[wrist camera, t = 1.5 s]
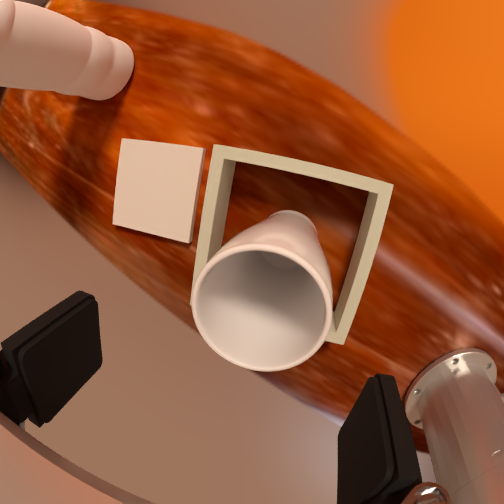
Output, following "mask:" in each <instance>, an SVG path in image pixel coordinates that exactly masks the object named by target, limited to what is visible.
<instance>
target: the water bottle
mask: <svg viewBox="0 0 504 504" xmlns="http://www.w3.org/2000/svg"><path fill="white" fill-rule="evenodd" d="M133 67H134V56H133V52H132V50H131V48H130V47H129V46H128V45H127V44H126V43H124V42H122V41H120V40H118V39H116V38H113V37H110V36H106V35H105V34H104V33H102V32H101V31H99V30H96V29H94V28H91V27H87V26H83V25H81V24H79V23H78V22H76V21H74V20H72V19H70V18H68V17H66V16H63V15H61V14H59V13H56V12H54V11H51V10H48V9H45V8H42V7H39V6H36V5H33V4H29V3H25V2H20V1H13V0H0V86H3V87H11V88H20V89H31V90H47V91H55V92H58V93H61V94H66V95H79V96H82V97H85V98H88V99H93V100H106V99H109V98H111V97H113V96H115V95H116V94H117V93H119V92H120V91H121V90H122V89H123V88H124V86H125V85H126V84H127V82H128V80H129V79H130V76H131V74H132V71H133Z"/></svg>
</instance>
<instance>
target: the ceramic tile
mask: <svg viewBox="0 0 504 504" xmlns="http://www.w3.org/2000/svg"><path fill="white" fill-rule="evenodd" d="M205 154H206V148H199V147H192V146H185V145H178V144H170V143H162V142H154V141H145V140H135V139H123V138H122V142H121V148H120V156H119V163H118V172H117V180H116V190H115V201H114V214H113V224H115V225H119V226H122V227H126V228H130V229H134V230H138V231H142V232H146V233H150V234H154V235H158V236H161V237H165V238H169V239H173V240H177V241H181V242H185V243H190V242H192V236H193V229H194V222H195V215H196V209H197V202H198V195H199V189H200V183H201V177H202V171H203V165H204V159H205Z"/></svg>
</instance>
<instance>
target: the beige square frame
mask: <svg viewBox="0 0 504 504" xmlns="http://www.w3.org/2000/svg"><path fill="white" fill-rule="evenodd" d="M236 161H240V162H245V163H250V164H255V165H260V166H265V167H270V168H275V169H280V170H284V171H289V172H294V173H298V174H302V175H307V176H311V177H315V178H319V179H324V180H328V181H332V182H336V183H340V184H344V185H347V186H351V187H355V188H359V189H362V190H366V191H369V194H368V198H367V202H366V206H365V210H364V214H363V218H362V222H361V226H360V229H359V233H358V237H357V240H356V244H355V247H354V251H353V254H352V258H351V261H350V265H349V268H348V271H347V275H346V278H345V281H344V284H343V287H342V291H341V294H340V297H339V300H338V303H337V306H336V309H335V312H332V322H331V327H330V330H329V333H328V335H327V337H326V339H325V341H329V342H333V343H338V344H342V345H343V344H344V342H345V339H346V337H347V334H348V331H349V329H350V326H351V324H352V321H353V318H354V315H355V313H356V310H357V307H358V304H359V301H360V299H361V296H362V293H363V290H364V287H365V284H366V281H367V278H368V275H369V272H370V269H371V265H372V262H373V259H374V256H375V252H376V249H377V246H378V242H379V239H380V235H381V232H382V228H383V224H384V221H385V217H386V213H387V209H388V205H389V201H390V197H391V193H392V189H393V184H389V183H386V182H383V181H379V180H376V179H372V178H369V177H365V176H361V175H358V174H354V173H350V172H346V171H343V170H339V169H335V168H331V167H327V166H322V165H318V164H314V163H310V162H305V161H301V160H296V159H292V158H287V157H282V156H277V155H272V154H267V153H262V152H257V151H251V150H246V149H240V148H234V147H229V146H222V145H216V144H214V147H213V152H212V158H211V163H210V169H209V175H208V181H207V187H206V193H205V199H204V205H203V212H202V218H201V225H200V232H199V239H198V246H197V253H196V261H195V268H194V276H193V284H192V292H193V287H194V284H195V281H196V279H197V277H198V275H199V273H200V272H201V270H202V269H203V268H204V266H205V265H206V264H207V263H208V262H209V261H210V259H211V258H212V257H213V256H214V255H215V254H216V253H217V252H218V251H219V250H220V249H221V245H222V239H223V233H224V227H225V221H226V215H227V210H228V204H229V198H230V193H231V187H232V182H233V176H234V171H235V165H236ZM192 292H191V301H190V305H192Z"/></svg>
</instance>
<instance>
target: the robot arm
mask: <svg viewBox="0 0 504 504" xmlns="http://www.w3.org/2000/svg"><path fill="white" fill-rule="evenodd" d="M1 346H2V350H1V351H0V504H155V503H152V502H150V501H148V500H145V499H143V498H140V497H138V496H136V495H133V494H131V493H129V492H127V491H124V490H123V489H120V488H118V487H116V486H114V485H112V484H110V483H108V482H106V481H104V480H102V479H100V478H98V477H97V476H95V475H93V474H91V473H89V472H87V471H86V470H84V469H82V468H80V467H79V466H77V465H75V464H74V463H72V462H70V461H69V460H67V459H65V458H64V457H62V456H60V455H59V454H58V453H56V452H54V451H53V450H51V449H50V448H48V447H47V446H45V445H44V444H43V443H41V442H40V441H38V440H37V439H35V438H34V437H32V436H31V435H30V434H29V433H27V432H26V431H25V422H24V421H25V420H26V419H27V418H28V419H29V420H30V421H31V422H32V423H34V424H35V425H37V426H38V427H41V426H42V425H43V424H44V423H48V422H50V421H51V420H52V419H53V417H54V416H55V415H56V414H57V413H58V412H59V411H60V410H61V409H62V408H63V407H64V405H65V404H66V403H67V402H68V401H69V400H70V399H71V398H72V397H73V396H74V395H75V394H76V393H77V391H79V389H80V388H81V387H82V386H83V385H84V384H85V383H86V382H87V381H88V380H89V379H90V378H91V377H92V375H94V374H95V372H96V371H97V370H98V369H99V368H100V367H101V365H102V351H101V340H100V329H99V315H98V303H97V301H95V298H94V296H93V295H91V294H88V293H85V292H83V291H77V292H76V293H74V294H72V295H71V296H69V297H68V298H66V299H65V300H63V301H62V302H60V303H59V304H57V305H56V306H54V307H52V308H51V309H49V310H48V311H46V312H45V313H44V314H42V315H40V316H39V317H37V318H36V319H35V320H33V321H32V322H30V323H29V324H27V325H26V326H24V327H23V328H21V329H20V330H18V331H17V332H16V333H14V334H13V335H11V336H10V337H9V338H7V339H6V340H4V341H3V342H1ZM496 377H497V369H496V365H495V363H494V361H493V359H492V358H491V357H490V355H488V354H487V353H486V352H485V351H482V350H480V349H475V348H465V349H460V350H456V351H453V352H451V353H448V354H446V355H444V356H442V357H440V358H439V359H437V360H435V361H434V362H433V363H431V364H430V365H429V366H427V367H426V368H425V369H424V370H423V371H422V372H421V373H420V374H419V375H418V376H417V377H416V379H415V380H414V381H413V383H412V384H411V386H410V387H409V389H408V392H407V394H406V397H405V402H404V405H405V412H406V416H407V418H408V419H407V418H406V417H405V414H404V410H403V406H402V402H401V399H400V395H399V391H398V388H397V384H396V381H395V378H394V376H391V375H384V374H376V375H375V376H374V377H370V378H369V379H368V380H367V382H366V384H365V386H364V388H363V390H362V392H361V394H360V396H359V397H358V399H357V401H356V403H355V405H354V406H353V408H352V410H351V412H350V414H349V415H348V417H347V419H346V420H345V422H344V424H343V426H342V427H341V429H340V431H339V434H338V486H337V487H338V488H337V504H504V394H500V392H499V391H498V389H497V387H496V386H495V382H496ZM408 420H409V421H408ZM409 422H410V423H411V424H412V425H413V426H415V427H417V428H419V429H423V430H424V433H425V437H426V441H427V445H428V449H429V453H430V457H431V461H432V465H433V470H434V474H435V478H436V483H437V484H436V483H433V482H424V483H423V482H422V477H421V472H420V467H419V463H418V458H417V453H416V449H415V445H414V440H413V436H412V432H411V428H410V424H409Z"/></svg>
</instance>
